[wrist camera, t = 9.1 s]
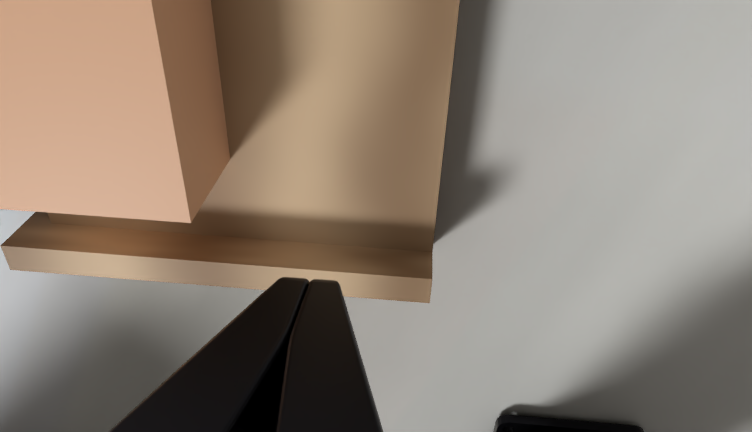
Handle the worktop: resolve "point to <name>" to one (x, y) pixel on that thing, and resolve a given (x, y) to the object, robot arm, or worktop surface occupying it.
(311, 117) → the square wooden tray
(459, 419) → the worktop surface
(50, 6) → the block
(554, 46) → the worktop surface
